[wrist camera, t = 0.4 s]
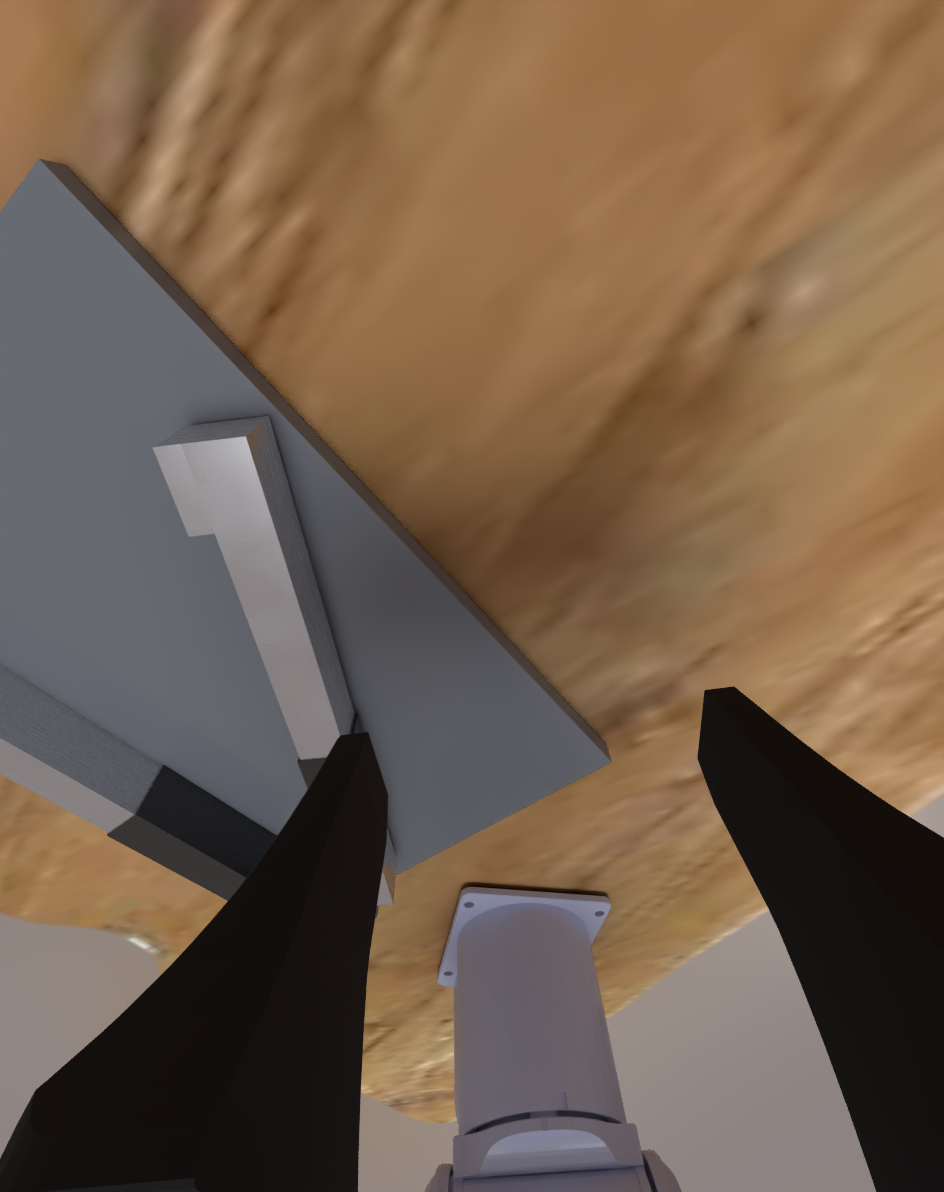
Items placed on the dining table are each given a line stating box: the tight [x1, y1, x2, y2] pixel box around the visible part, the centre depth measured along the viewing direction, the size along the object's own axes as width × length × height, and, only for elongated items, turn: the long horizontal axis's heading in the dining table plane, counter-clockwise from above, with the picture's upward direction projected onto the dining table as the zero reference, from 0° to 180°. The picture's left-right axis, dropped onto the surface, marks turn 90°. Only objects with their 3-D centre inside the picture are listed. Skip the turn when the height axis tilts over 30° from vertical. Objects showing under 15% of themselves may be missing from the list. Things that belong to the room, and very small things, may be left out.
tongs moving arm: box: [152, 416, 397, 918], centre depth 20 cm, size 22×5×2 cm, turn 6°
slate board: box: [0, 159, 612, 875], centre depth 21 cm, size 25×18×1 cm
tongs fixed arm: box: [0, 664, 277, 900], centre depth 21 cm, size 17×2×2 cm, turn 38°
